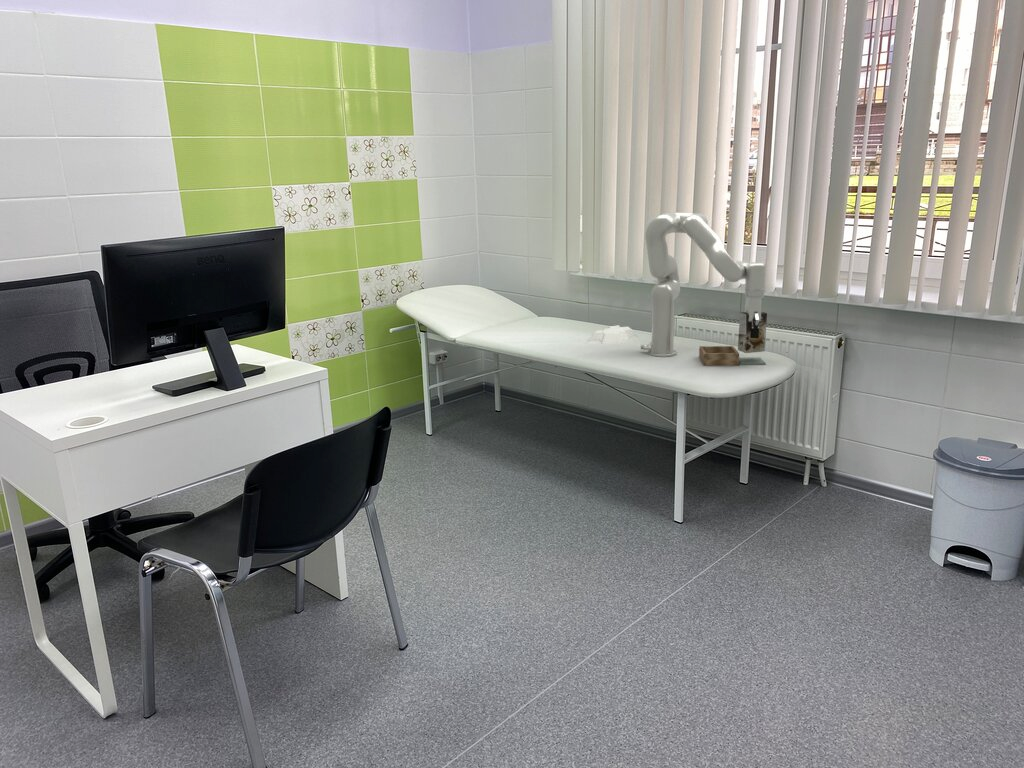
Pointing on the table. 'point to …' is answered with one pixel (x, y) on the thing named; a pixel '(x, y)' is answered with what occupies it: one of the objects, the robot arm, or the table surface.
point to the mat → (751, 361)
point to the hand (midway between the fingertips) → (752, 335)
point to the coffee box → (744, 338)
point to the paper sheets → (612, 334)
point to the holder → (718, 356)
